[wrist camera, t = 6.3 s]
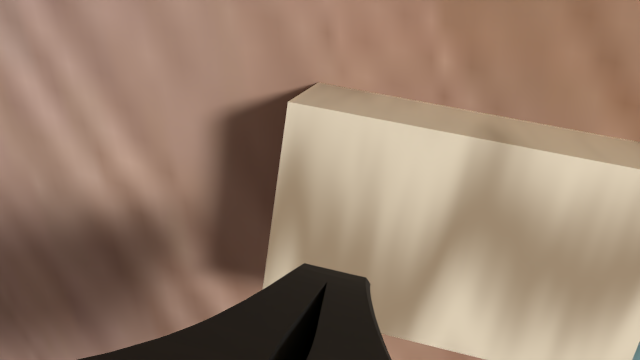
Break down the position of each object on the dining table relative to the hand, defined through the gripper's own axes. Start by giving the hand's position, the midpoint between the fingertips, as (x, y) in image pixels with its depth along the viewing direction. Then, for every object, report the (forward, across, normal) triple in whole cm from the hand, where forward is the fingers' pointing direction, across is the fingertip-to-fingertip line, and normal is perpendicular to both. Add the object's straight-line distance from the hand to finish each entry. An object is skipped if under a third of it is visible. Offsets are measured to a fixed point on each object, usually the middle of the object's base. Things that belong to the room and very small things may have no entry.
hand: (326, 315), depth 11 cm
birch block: (+6, +2, 0) cm, 7 cm away
